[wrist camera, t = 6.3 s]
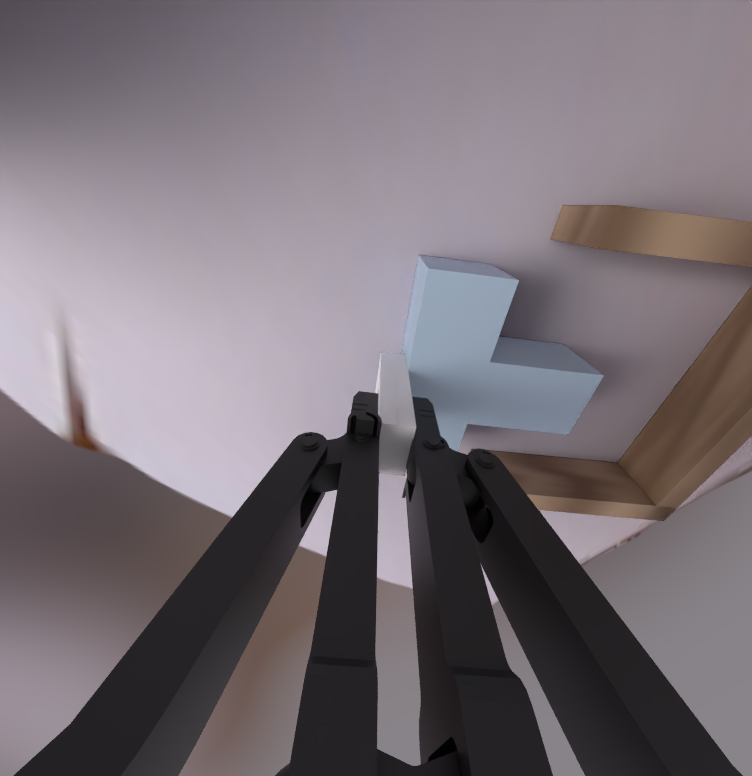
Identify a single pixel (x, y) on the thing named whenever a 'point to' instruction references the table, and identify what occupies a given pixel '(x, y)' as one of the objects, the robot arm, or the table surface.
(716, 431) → the walnut corral
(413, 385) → the tee block
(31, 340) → the table surface
